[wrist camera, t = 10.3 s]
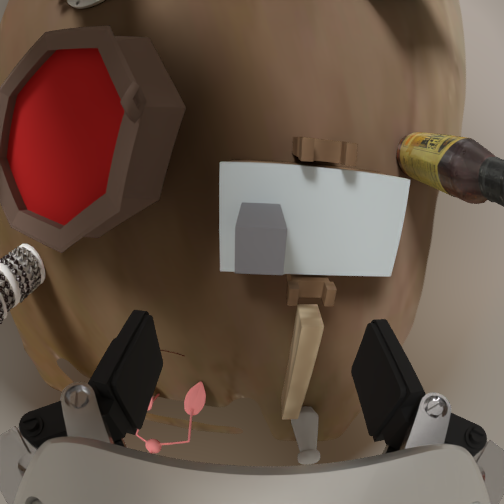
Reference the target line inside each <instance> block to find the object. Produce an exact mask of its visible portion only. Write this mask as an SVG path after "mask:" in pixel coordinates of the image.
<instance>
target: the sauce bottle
mask: <svg viewBox="0 0 504 504" xmlns="http://www.w3.org/2000/svg"><path fill="white" fill-rule="evenodd" d="M397 159H398V163H399V165H400V167H401V169H402V170H403V172H404V173H405V174H406V175H409V176H410V177H411V178H413V179H415V180H417V181H420V182H422V183H424V184H427V185H429V186H431V187H434V188H436V189H438V190H440V191H442V192H445V193H447V194H449V195H451V196H453V197H457V198H459V199H461V200H463V201H466V202H468V203H474V204H479V203H484V202H485V201H486V200H489V201H491V202H496V203H498V204H500V205H502V206H504V160H502V159H500V158H498V157H495V156H494V155H493V154H492V153H491V152H489V151H488V150H487V149H486V148H484V147H483V146H482V145H480V144H479V143H478V142H476V141H475V140H473V139H471V138H465V137H458V136H451V135H442V134H432V133H420V132H417V133H412V134H409V135H407V136H405V137H404V138H403V139H402V140H401V141H400V143H399V145H398V150H397Z"/></svg>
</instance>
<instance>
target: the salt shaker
mask: <svg viewBox="0 0 504 504" xmlns="http://www.w3.org/2000/svg"><path fill="white" fill-rule="evenodd" d="M291 424H292V427H293V430H294V433H295V437H296V440H297V443H298V446H299V450H300V453H299V454H298V462H299V463H301V464H305V465H307V464H313V463H316V462H318V461H319V459H320V452H319V451H318V450H316V448H317V436H318V414H317V413H316V412H315V411H314V410H313V408H312V407H307V406H303V407H302V408H301V411H300V414H299V417H298V419H291Z"/></svg>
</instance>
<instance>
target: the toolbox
mask: <svg viewBox="0 0 504 504" xmlns="http://www.w3.org/2000/svg"><path fill="white" fill-rule="evenodd" d="M357 151H358V144H356V143H349V142H340V141H333V140H324V139H315V138H308V137H293V151H292V154H293V155H295V156H297V157H299V160H301V161H309V162H313V161H324V162H333V163H340V164H343V165H347V166H355V167H356V162H357ZM229 162H260V163H279V164H294V165H307V166H318V167H328V168H338V169H346V170H354V171H362V172H369V173H376V174H382V173H379V172H375V171H369V170H361V169H354V168H346V167H337V166H328V165H318V164H307V163H295V162H280V161H260V160H231V161H229ZM383 175H385V174H383ZM286 277H287V283H288V285H287V294H286V300H287V306H297V304H298V297H305V298H321V299H322V302H323V305H324V306H333V305H334V301H335V296H336V292H337V289H336V287H335V284H334V282H330V281H329V279H328V277H327V275H304V274H286Z"/></svg>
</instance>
